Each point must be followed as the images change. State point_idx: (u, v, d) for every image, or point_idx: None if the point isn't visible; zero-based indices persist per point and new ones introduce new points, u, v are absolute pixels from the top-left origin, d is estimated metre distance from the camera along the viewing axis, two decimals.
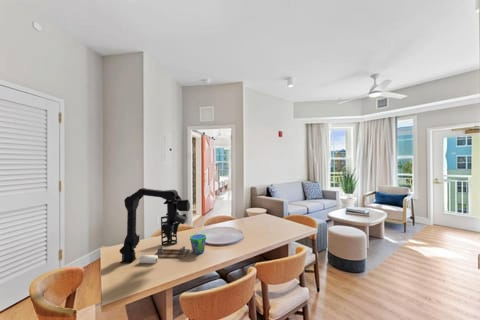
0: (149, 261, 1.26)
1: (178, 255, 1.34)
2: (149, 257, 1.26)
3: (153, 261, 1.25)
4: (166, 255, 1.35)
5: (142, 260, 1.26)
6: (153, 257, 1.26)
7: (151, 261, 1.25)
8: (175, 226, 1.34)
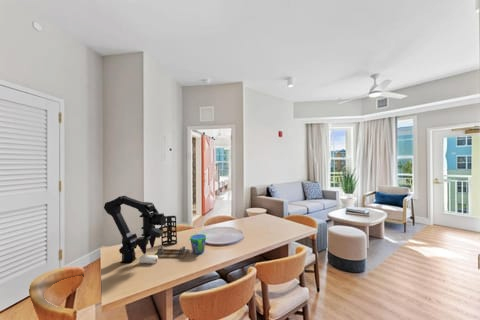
0: (149, 261, 1.25)
1: (178, 255, 1.34)
2: (149, 257, 1.26)
3: (153, 261, 1.25)
4: (166, 255, 1.35)
5: (142, 260, 1.26)
6: (153, 257, 1.26)
7: (151, 261, 1.25)
8: (152, 239, 1.33)
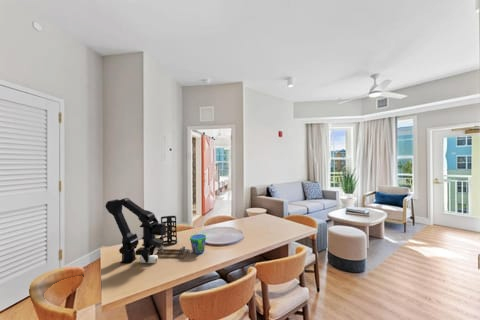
0: (149, 261, 1.26)
1: (178, 255, 1.34)
2: (149, 257, 1.26)
3: (153, 261, 1.25)
4: (166, 255, 1.35)
5: (142, 260, 1.26)
6: (153, 257, 1.26)
7: (151, 261, 1.25)
8: (150, 250, 1.30)
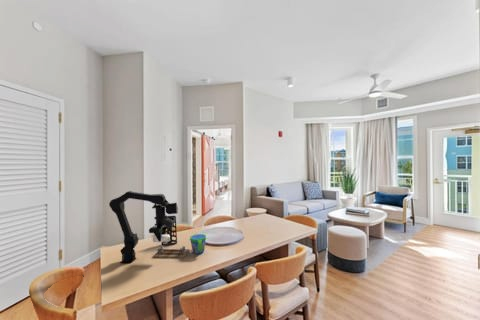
0: (162, 240, 1.31)
1: (178, 255, 1.34)
2: (161, 236, 1.32)
3: (165, 240, 1.31)
4: (166, 255, 1.35)
5: (155, 239, 1.32)
6: (165, 236, 1.32)
7: (163, 240, 1.31)
8: (163, 230, 1.36)
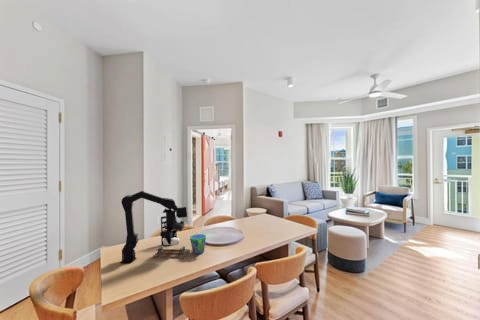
0: (172, 243, 1.37)
1: (178, 255, 1.34)
2: (171, 239, 1.38)
3: (175, 243, 1.37)
4: (166, 255, 1.35)
5: (165, 242, 1.37)
6: (175, 239, 1.38)
7: (173, 243, 1.37)
8: (172, 233, 1.42)
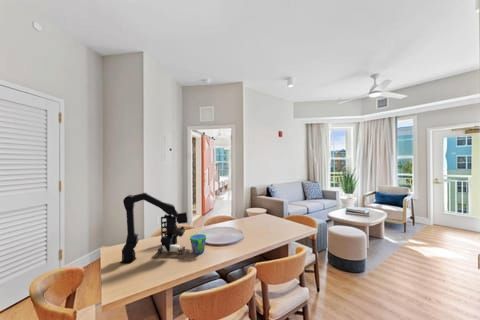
0: (172, 250, 1.37)
1: (178, 255, 1.34)
2: (172, 246, 1.38)
3: (176, 250, 1.37)
4: (166, 255, 1.35)
5: (165, 249, 1.37)
6: (175, 246, 1.38)
7: (174, 250, 1.37)
8: (173, 238, 1.44)
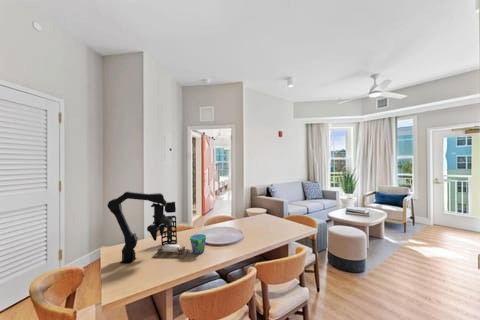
0: (172, 250, 1.37)
1: (178, 255, 1.34)
2: (172, 246, 1.38)
3: (176, 250, 1.37)
4: (166, 255, 1.35)
5: (165, 249, 1.37)
6: (175, 246, 1.38)
7: (174, 250, 1.37)
8: (161, 227, 1.42)
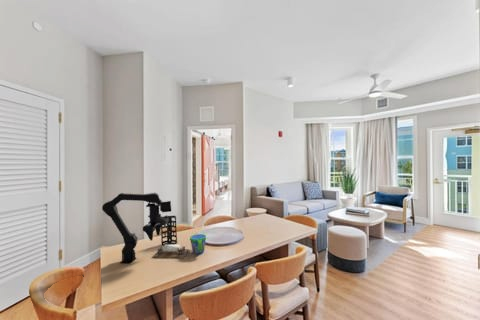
0: (172, 250, 1.37)
1: (178, 255, 1.34)
2: (172, 246, 1.38)
3: (176, 250, 1.37)
4: (166, 255, 1.35)
5: (165, 249, 1.37)
6: (175, 246, 1.38)
7: (174, 250, 1.37)
8: (158, 227, 1.41)
